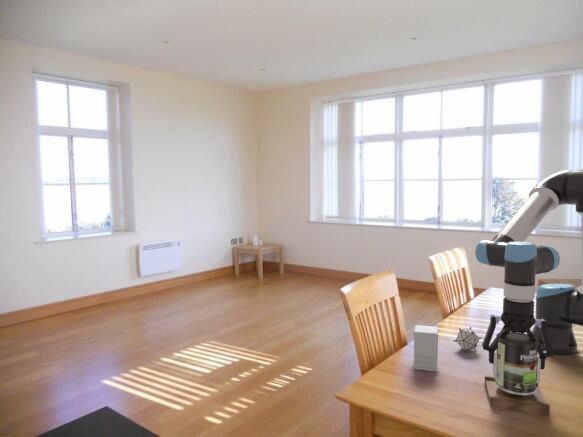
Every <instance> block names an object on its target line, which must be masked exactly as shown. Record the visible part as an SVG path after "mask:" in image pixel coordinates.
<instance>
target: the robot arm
mask: <svg viewBox="0 0 583 437" xmlns="http://www.w3.org/2000/svg"><path fill="white" fill-rule="evenodd" d="M563 205H570V206H571V205H573V206H575V212H576V214H578V215H579V216H580V218H581V219H580V221H581V222H580V224H581V225H580V226H581V228H580V229H581V230H580V231H581V285H579V286H578V287H577V288H575V286H574V285H573V284H568V283H547V284H546V283H545V284H541V285H539V286H538V287H537V288H536V287H535V286H536V275H540V274H546V273H550V272H551V271H553V270H555V269H557V268H558V267H559V265H560V262H561V256H560V253H559V252H558V251H557V249H556V248H554V247H552V246H551V245H537V246H536V244H535V243H533V242H529V241H526V240H527V239H528V238H529V237H530V235H531V234H532V233H533V232H534V231H535V229H536V228H537V227H538V226H539V224H540V223H541V222H542V221H543V219H544V218H545V217H546V216H547V215H548V213H549V212H551V211H554V210H556V209H557V208H558V207H559V206H563ZM474 252H475V253H474V254H475V258H476V260H477V262H478V263H479V264H483V265H487V266H492V267H497V268H499V267H500V268H504V275H503V277H504V279H503V296H504V298H503V299H502V313H501V315H495V314H490V316H489V320H490V322H489V325H488V328H487V330H486V333H485V335H484V338H483V340H482V343H481V346H482V349H483V350H484V351H487V352H488V361H489V364H491V365H492V366H491V367H492V371H491V373H492V376H494V377H496V376H497V352H496V350H497V348H498V339H497V337H495V338H494V340H493V341H492V342H491V340H492V339H493V335H494V332H495V329H496V328H497V325H498V324H499V323H500V322H502V323H503V327H502V328H501V330H500V331H499V332H498V333H499V334H498V333H497V334H498V336H499V337H501V338H505V337H506V336H507V335H508V334H509V333H510V332H514V333H515V332H518V333H523V334H527V335H528V336H529V338H530V340H531V341H537V340H536V339H538V341H539V342H538V352H537V374H536V382H538V383H540V382H541V370H545V367H546V359H547V358H553V357H554V354H557V355H573V354H575V353H577V352H578V343H577V342H578V341H577V339H576V336H575V333H574V330H573V326H574V325H575V326H576V325H577V326H580V327H583V169H565V170H561V171H558V172H555V173H553V174H550V175H549V176H547V177H545V178H544V179H542V180H541V181H539V182H538V183H537V184H536V185H535V186H534V187H532V189H531V190H530V192H529V194H528V198H527V200H526V201H525V202H524V203H523V204H522V205H521V206H520V207H519V208H518V210H517V211H516V212H515V213H514V214H513V216H512V217H511V218H509V220H508V221H507V222H506V223H505V225H504V226H503V227H502V228H500V230H499V231H498V232H497V233H496V235H495V236H494V237H493V238H492V239H491V240H489V239H486V240H481V241H479V242H478V243H477V244H476V247H475V251H474ZM535 290H536V294H535ZM534 299H535V301H534ZM534 314H535V315H534ZM534 316H535V317H534ZM532 327H533V328H532ZM531 329H532V330H531ZM535 338H536V339H535Z"/></svg>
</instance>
